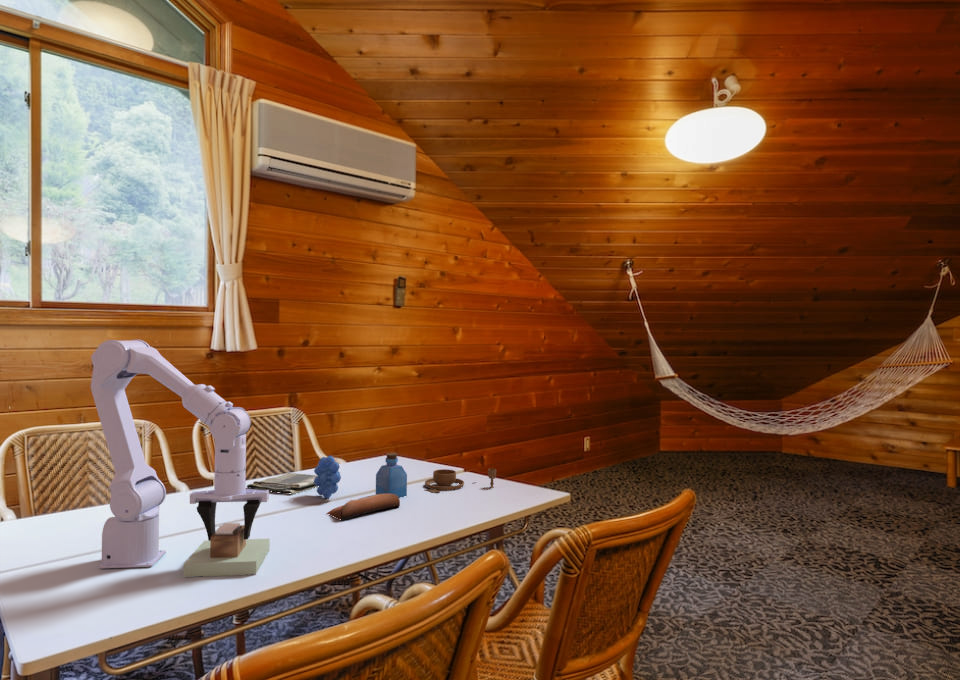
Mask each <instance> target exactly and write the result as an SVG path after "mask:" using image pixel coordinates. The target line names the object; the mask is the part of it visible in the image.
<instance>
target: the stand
mask: <svg viewBox="0 0 960 680" xmlns="http://www.w3.org/2000/svg"><path fill="white" fill-rule="evenodd" d="M270 540H271V539H270V538H248V539H246V545H245V547H244V548H243V550H242V551H241V553H240V554H239V556H238V557H227V558H210V541H209V540H208V539H207V540H203V541H202V542H201V544H200V545H199V546H198V548H197V549H195V551H194V552H192V554H191V555H190V556H189V557H188V559H186V561H185V562H184V563H183V578H191V577H190V576H203V577H220V576H221V577H224V576H225V577H226V576H227V577H228V576H246V574H253V575H257V574H256V573H258V571H259V570H260V569H261V567H260V566H262V564H264V562H265V559H266V558H267V556H268V554H269V553H270ZM266 555H267V556H266ZM265 557H266V558H265Z"/></svg>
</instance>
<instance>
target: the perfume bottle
mask: <svg viewBox="0 0 960 680" xmlns="http://www.w3.org/2000/svg"><path fill="white" fill-rule="evenodd" d="M385 456H386V457H385V463H386V464H383V465H381V466H380V468H379V469H378V471H377V472H376V474H375V495H377V494H395V495H397V496H398V498H399V497H402V498H405V497H404V496H406V497H407V496H408V495H407V491H408V474H407V472H406V471H405V469H404V468H403V465H400V464H398V462H399V458H398V453H396V452H389V453H388V452H387V453H386V454H385ZM399 499H400V498H399Z"/></svg>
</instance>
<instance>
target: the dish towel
mask: <svg viewBox="0 0 960 680" xmlns="http://www.w3.org/2000/svg"><path fill="white" fill-rule="evenodd" d="M317 476H318V475H316V474H305V473H296V472H295V473H294V472H293V473H292V472H287V473H285V474H282V475H278V476H274V477H268V478H267V479H263V480H259V481H258V480H256V481H253V482H252V483H250V484H247V485H246V489H253V490H269V492H271V491H272V492H271V493H273V492H276V493H275V494H278V493H277V492H280V493H282V494H284V493H291V495H290V496H293V494H294V495H296V493H298V494H300V492H301V493H304V492H307V491H310V490H312V488H313V489H315V487H316V488H318V486H316V485H315V484H314V479H315V478H316V477H317ZM309 489H310V490H309ZM306 490H307V491H306ZM303 491H304V492H303Z"/></svg>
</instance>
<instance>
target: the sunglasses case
mask: <svg viewBox="0 0 960 680" xmlns="http://www.w3.org/2000/svg"><path fill="white" fill-rule="evenodd" d="M400 505H401V501H400V498H398V496H397V495H395V494H377V495H376V494H374V495H370V496H367V497H363V498H362V497H361V498H358V499H350V500H348V502H346V503H345V504H343V505H341V506H338V507H335V508H332V509H331V510H330V511H328V512H326V515H327V514H330V515H332V516H334V517H336V518H338V519H337V520H339V519H341V520H340V521H341V522H342V521H344V520H348V519H351V518H354V517H355V518H356V517H358V516H361V515H363V514H366V513H372V512H373V513H374V512H376V511H380V510H385V509H391V508H395V507H396V506H398V507H397V508H399V507H400ZM330 515H329V516H330ZM332 516H331V517H332ZM334 517H333V518H334ZM336 518H335V519H336Z"/></svg>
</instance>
